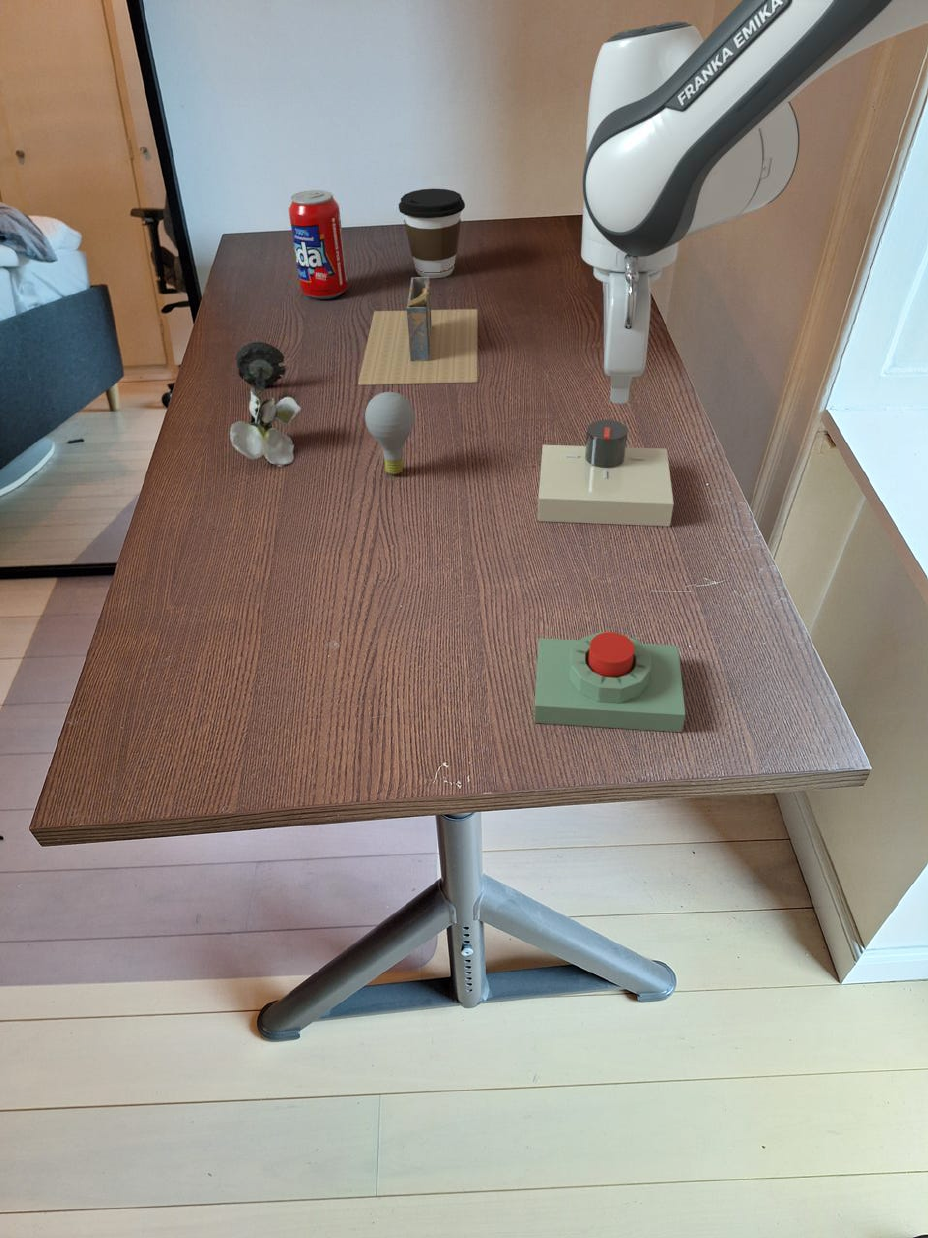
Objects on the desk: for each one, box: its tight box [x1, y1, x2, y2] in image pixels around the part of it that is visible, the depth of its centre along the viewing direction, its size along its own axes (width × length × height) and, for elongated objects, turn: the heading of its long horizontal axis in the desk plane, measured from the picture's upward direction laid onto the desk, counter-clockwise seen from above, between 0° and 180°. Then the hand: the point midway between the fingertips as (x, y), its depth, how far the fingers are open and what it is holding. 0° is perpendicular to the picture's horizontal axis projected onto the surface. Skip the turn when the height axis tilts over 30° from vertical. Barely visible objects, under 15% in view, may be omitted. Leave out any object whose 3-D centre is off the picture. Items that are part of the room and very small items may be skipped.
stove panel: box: [537, 444, 675, 528], centre depth 94 cm, size 14×13×3 cm
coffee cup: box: [398, 188, 466, 279], centre depth 143 cm, size 11×11×12 cm
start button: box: [588, 631, 635, 678], centre depth 70 cm, size 4×4×2 cm
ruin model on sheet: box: [357, 276, 479, 386], centre depth 122 cm, size 25×16×10 cm, turn 179°
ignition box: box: [533, 631, 686, 733], centre depth 71 cm, size 12×8×4 cm, turn 84°
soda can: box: [288, 189, 349, 300], centre depth 136 cm, size 8×8×15 cm
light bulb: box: [364, 391, 415, 475], centre depth 96 cm, size 6×6×10 cm
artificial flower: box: [229, 341, 302, 468], centre depth 106 cm, size 9×22×10 cm, turn 6°
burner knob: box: [585, 419, 629, 468], centre depth 94 cm, size 4×4×4 cm
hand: (618, 378), depth 87 cm, fingers open, 8 cm apart
